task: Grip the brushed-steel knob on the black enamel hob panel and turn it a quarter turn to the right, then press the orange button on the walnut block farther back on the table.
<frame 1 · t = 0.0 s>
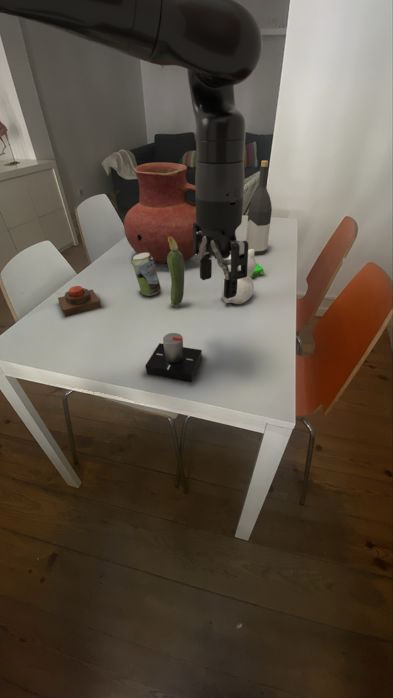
hand: (217, 287, 60), 18 cm above the table, tool pointing down, fingers open, 8 cm apart
clay pot: (169, 258, 118), on the table
hob panel: (175, 366, 69), on the table
wine bottle: (255, 251, 121), on the table
start button: (76, 291, 88), point 5 cm above the table, slide at 0.2 cm
vegetable: (178, 307, 90), on the table
beverage can: (149, 293, 96), on the table
cat figurine: (235, 300, 92), on the table
button block: (80, 305, 91), on the table
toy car: (246, 272, 107), on the table
hob knob: (173, 347, 66), point 5 cm above the table, hinge at 0.0°
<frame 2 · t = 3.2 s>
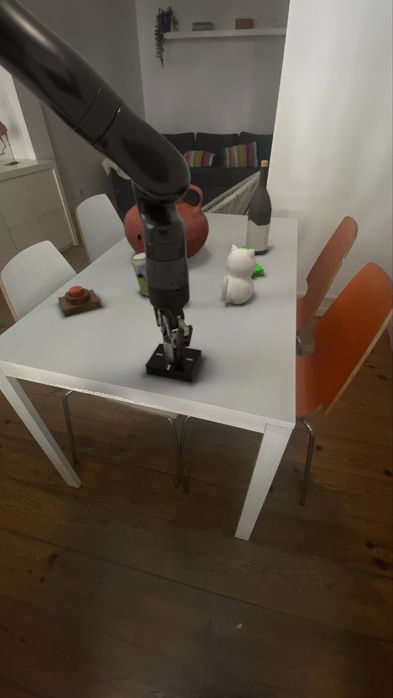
hand: (174, 352, 67), 4 cm above the table, tool pointing down, fingers closed on hob knob, 4 cm apart
hob knob: (173, 347, 66), point 5 cm above the table, hinge at 0.1°, touching gripper
everything else where it was.
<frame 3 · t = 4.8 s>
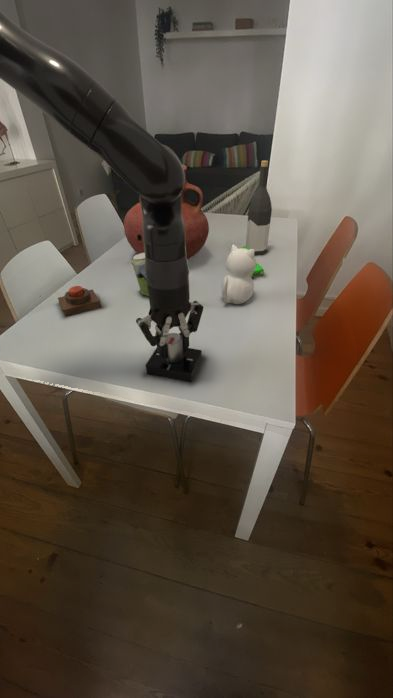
hand: (173, 352, 67), 4 cm above the table, tool pointing down, fingers closed on hob knob, 4 cm apart
hob knob: (173, 347, 66), point 5 cm above the table, hinge at -91.0°, touching gripper
everything else where it was.
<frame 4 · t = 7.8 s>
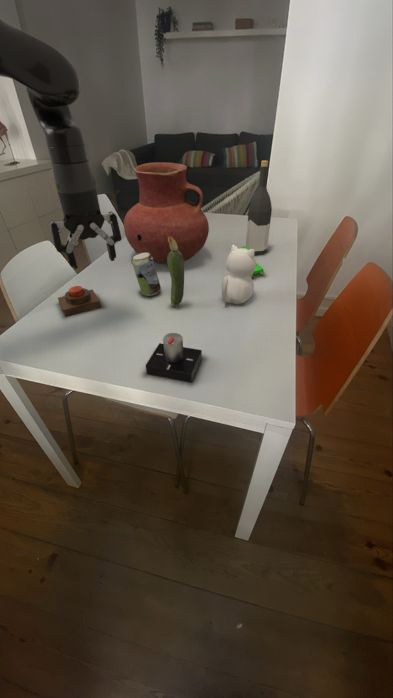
hand: (94, 263, 74), 16 cm above the table, tool pointing down, fingers open, 8 cm apart
hob knob: (173, 347, 66), point 5 cm above the table, hinge at -91.1°
everything else where it was.
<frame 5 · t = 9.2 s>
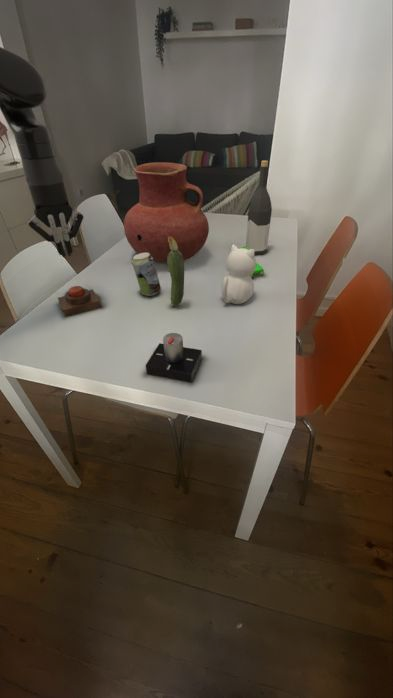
hand: (66, 255, 82), 15 cm above the table, tool pointing down, fingers closed
nothing on the table moved.
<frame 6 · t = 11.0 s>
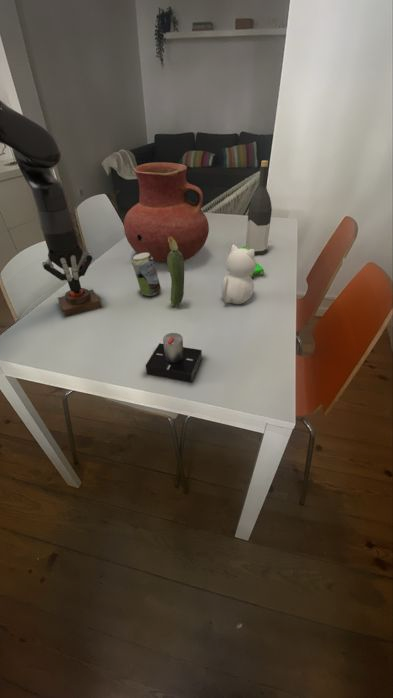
hand: (76, 291, 88), 5 cm above the table, tool pointing down, fingers closed
start button: (77, 294, 89), point 4 cm above the table, slide at -0.6 cm, touching gripper
everything else where it was.
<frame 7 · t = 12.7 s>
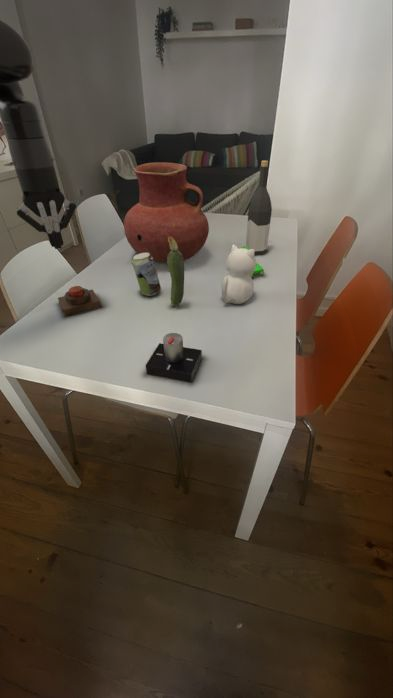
hand: (57, 247, 76), 19 cm above the table, tool pointing down, fingers closed
start button: (76, 291, 88), point 5 cm above the table, slide at 0.2 cm
everything else where it was.
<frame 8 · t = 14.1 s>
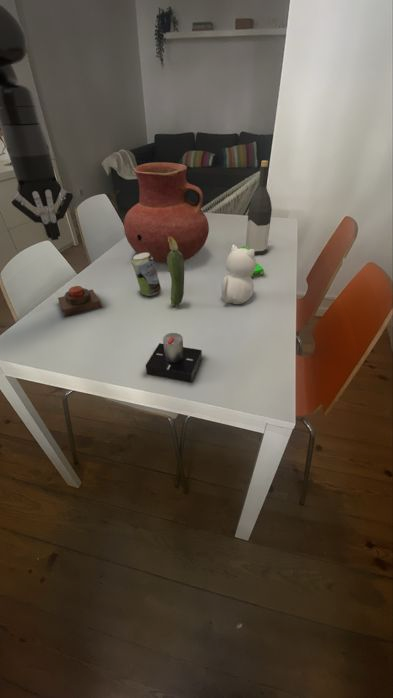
hand: (54, 238, 74), 21 cm above the table, tool pointing down, fingers closed
nothing on the table moved.
at the end: hob knob at -91° (first picture: +0°); start button pushed in 1.0 cm at the most during the clip, back to 0.2 cm at the end; start button slide at 0.2 cm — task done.
